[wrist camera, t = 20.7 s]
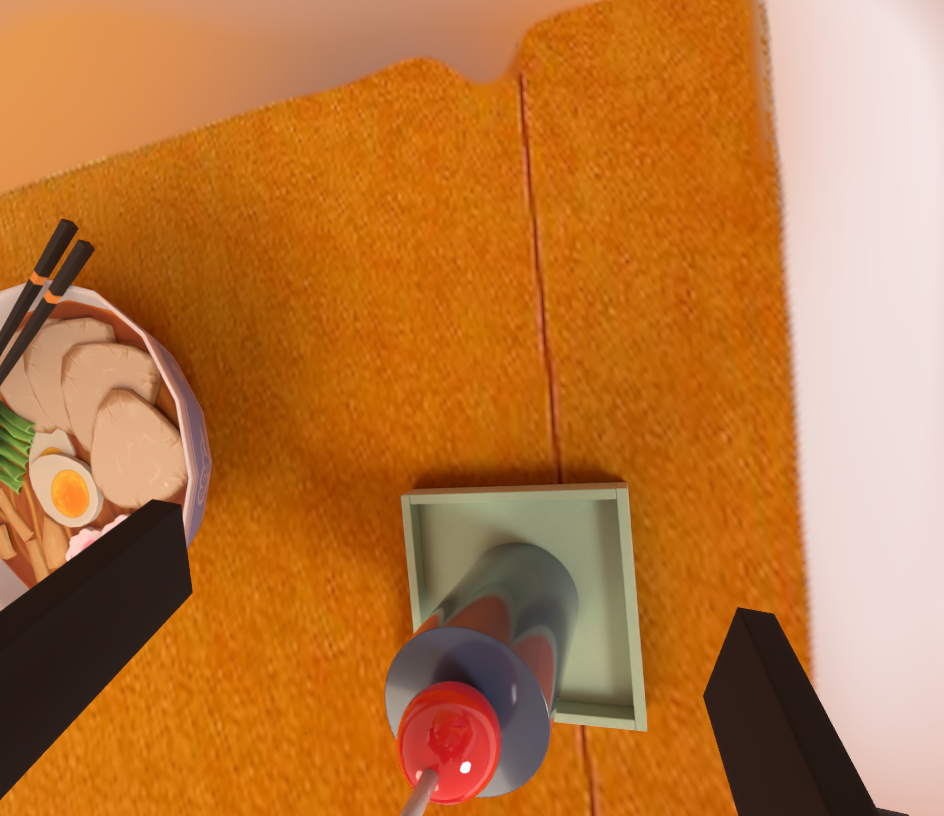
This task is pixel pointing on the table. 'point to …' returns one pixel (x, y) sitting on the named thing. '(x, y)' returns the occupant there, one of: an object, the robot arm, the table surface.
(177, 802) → the table surface
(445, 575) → the serving tray
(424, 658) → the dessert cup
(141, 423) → the ramen bowl
